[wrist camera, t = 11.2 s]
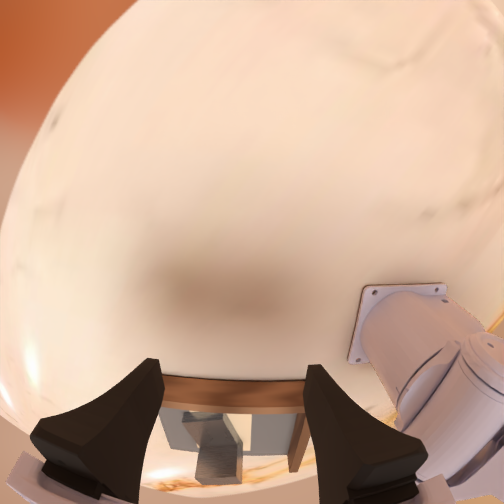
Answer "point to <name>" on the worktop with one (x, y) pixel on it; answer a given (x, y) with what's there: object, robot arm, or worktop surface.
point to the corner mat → (246, 425)
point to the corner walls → (243, 403)
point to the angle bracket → (215, 448)
